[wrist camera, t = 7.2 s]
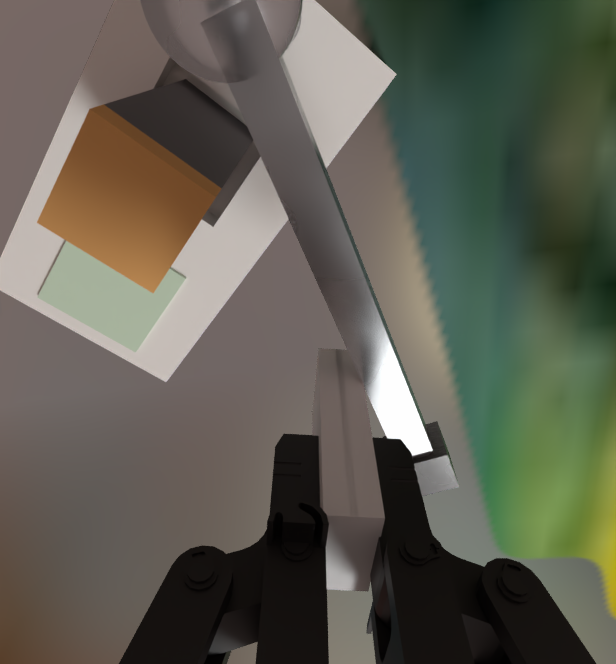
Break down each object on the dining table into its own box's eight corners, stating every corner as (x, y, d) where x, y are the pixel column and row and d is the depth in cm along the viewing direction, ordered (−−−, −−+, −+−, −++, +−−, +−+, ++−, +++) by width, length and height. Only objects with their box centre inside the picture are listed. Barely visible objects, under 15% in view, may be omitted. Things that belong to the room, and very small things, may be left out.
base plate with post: (187, -112, 20) (9, -312, 8) (389, 71, 23) (456, 103, 12) (13, 265, 29) (-188, 414, 17) (176, 359, 32) (97, 535, 21)
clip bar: (129, -52, 10) (100, -66, 9) (265, -132, 10) (255, -160, 8) (380, 470, 18) (385, 505, 17) (464, 447, 18) (477, 482, 16)
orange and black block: (185, 78, 23) (89, 108, 13) (257, 134, 24) (215, 197, 14) (146, 150, 24) (37, 222, 15) (214, 198, 25) (153, 293, 16)
